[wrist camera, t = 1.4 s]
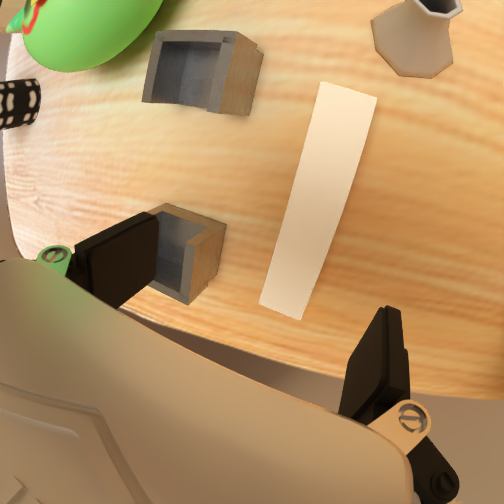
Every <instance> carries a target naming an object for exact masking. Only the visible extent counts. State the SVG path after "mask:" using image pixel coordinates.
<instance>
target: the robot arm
mask: <svg viewBox="0 0 504 504" xmlns="http://www.w3.org/2000/svg"><path fill="white" fill-rule="evenodd" d="M158 235H159V221H158V220H157V217H156V216H155V215H153V214H150V213H147V212H142V213H139V214H137V215H135V216H133V217H131V218H129V219H126V220H124V221H122V222H120V223H118V224H116V225H114V226H112V227H110V228H108V229H106V230H104V231H101V232H99V233H97V234H95V235H93V236H91V237H89V238H87V239H86V240H84V241H82V242H80V243H78V244H76V245H74V246H75V253H74V254H72V252H71V250H70V249H69V248H68V247H65V246H60V245H55V246H50V247H47V248H45V249H43V250H42V251H41V252H40V253H39V255H38V257H37V259H36V260H29V259H24V258H11V259H8V260H1V261H0V504H462V502H461V501H458V502H457V501H456V498H455V497H456V495H457V494H458V490H459V479H458V476H457V474H456V472H455V471H454V470H453V468H452V467H451V466H450V464H449V463H448V462H447V461H446V459H445V458H444V457H443V456H442V454H441V453H440V452H439V451H438V449H437V448H436V447H435V446H434V444H433V443H432V442H431V441H430V439H429V438H428V437H427V436H426V435H427V434H428V432H429V431H430V428H431V418H430V415H429V413H428V411H427V410H426V409H425V407H423V406H422V405H421V404H420V403H418V402H416V401H413V400H410V376H409V360H408V351H407V350H406V349H405V348H404V342H403V330H402V320H401V311H400V310H398V309H396V308H393V307H390V306H388V305H387V306H385V307H384V308H382V307H380V308H379V309H378V311H377V313H376V315H375V316H374V318H373V320H372V322H371V323H370V325H369V327H368V329H367V330H366V332H365V334H364V335H363V337H362V339H361V340H360V342H359V344H358V345H357V347H356V348H355V350H354V352H353V353H352V355H351V356H350V358H349V361H348V364H347V369H346V375H345V381H344V386H343V391H342V397H341V402H340V407H339V411H338V414H337V413H335V412H332V411H329V410H327V409H324V408H322V407H319V406H317V405H314V404H311V403H309V402H306V401H303V400H300V399H297V398H295V397H293V396H290V395H288V394H285V393H283V392H280V391H278V390H275V389H273V388H270V387H268V386H266V385H263V384H261V383H259V382H256V381H254V380H252V379H249V378H247V377H245V376H243V375H240V374H238V373H236V372H234V371H231V370H229V369H227V368H225V367H223V366H221V365H218V364H217V363H215V362H212V361H210V360H208V359H206V358H204V357H202V356H200V355H198V354H196V353H194V352H192V351H190V350H188V349H186V348H184V347H182V346H180V345H179V344H177V343H175V342H173V341H171V340H169V339H167V338H165V337H163V336H161V335H160V334H158V333H156V332H154V331H152V330H151V329H149V328H147V327H145V326H144V325H142V324H140V323H138V322H137V321H135V320H133V319H131V318H130V317H128V316H126V315H125V314H123V313H121V312H120V311H118V310H116V309H117V308H119V307H120V306H121V305H122V304H124V303H125V302H126V301H127V300H129V299H130V298H131V297H132V296H134V295H135V294H136V293H138V292H139V291H140V290H141V289H143V288H144V287H145V286H147V285H148V284H149V283H150V282H152V281H153V279H154V278H155V275H156V263H157V248H158Z"/></svg>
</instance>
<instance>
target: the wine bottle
mask: <svg viewBox="0 0 504 504" xmlns="http://www.w3.org/2000/svg"><path fill="white" fill-rule="evenodd" d="M26 1H27V0H0V33H7V32H6V28H7V26H8V24H9V23H10V21H11V20H12V19H13V18H14V17H15V16H16V14H17V13H18V12H19V11H20V10H21V9H22V8H23V7H24V6H25V4H26ZM13 33H22V30H19V31H16V32H13Z"/></svg>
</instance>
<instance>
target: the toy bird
mask: <svg viewBox="0 0 504 504" xmlns="http://www.w3.org/2000/svg"><path fill="white" fill-rule="evenodd" d="M162 2H163V0H27V1H26V4H25V6H24V7H23V8H22V9H21V10H20V11H19V12H18V13H17V14H16V16H15V17H14V18H13V19H12V20H11V21H10V23H9V24H8V26H7V28H6V32H7V33H13V32H16V31H19V30H22V35H23V40H24V44H25V46H26V49H27V50H28V52H29V54H30V55H31V56H32V57H33V59H34V60H36V61H37V62H38V63H39V64H41V65H42V66H44V67H46V68H48V69H51V70H54V71H59V72H79V71H84V70H88V69H91V68H94V67H96V66H99V65H101V64H103V63H105V62H107V61H108V60H110V59H112V58H113V57H115V56H116V55H117V54H119V53H120V52H121V51H123V50H124V49H125V48H126V47H127V46H129V45H130V44H131V43H132V42H133V41H134V40H135V39H136V38H137V37H138V36H139V35H140V34H141V33H142V32H143V30H144V29H145V28H146V27H147V26H148V24H149V23H150V22H151V20H152V19H153V17H154V16H155V14H156V13H157V11H158V9H159V8H160V6H161V4H162Z"/></svg>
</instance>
